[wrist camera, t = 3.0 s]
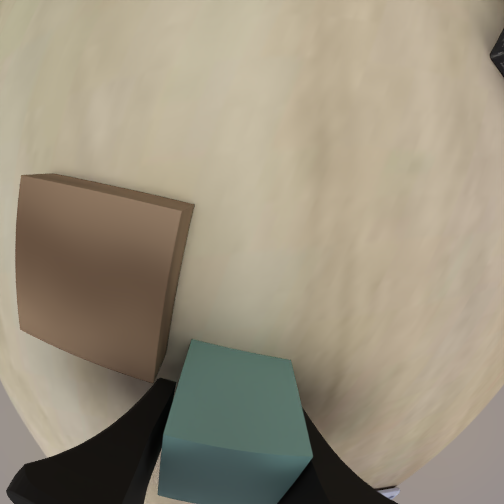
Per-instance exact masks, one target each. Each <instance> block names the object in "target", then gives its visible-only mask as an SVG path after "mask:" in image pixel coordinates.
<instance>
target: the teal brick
mask: <svg viewBox="0 0 504 504" xmlns="http://www.w3.org/2000/svg"><path fill="white" fill-rule="evenodd" d="M312 458H313V454H312V450H311V445H310V441H309V436H308V432H307V427H306V423H305V419H304V414H303V410H302V406H301V401H300V397H299V393H298V388H297V384H296V380H295V376H294V371H293V367H292V363H291V360H287V359H282V358H276V357H271V356H265V355H260V354H255V353H250V352H245V351H241V350H236V349H231V348H227V347H223V346H218V345H214V344H210V343H206V342H202V341H198V340H194V339H192V340H191V344H190V347H189V350H188V353H187V356H186V360H185V363H184V366H183V369H182V373H181V376H180V379H179V383H178V386H177V389H176V393H175V396H174V399H173V403H172V406H171V410H170V413H169V416H168V420H167V423H166V427H165V430H164V434H163V442H162V451H161V461H160V472H159V484H158V495H159V496H163V497H167V498H172V499H176V500H181V501H185V502H190V503H196V504H277V503H278V502H279V500H280V499H281V498H282V497H283V496H284V494H285V493H286V492H287V491H288V489H289V488H290V487H291V486H292V484H293V483H294V482H295V481H296V479H297V478H298V477H299V475H300V474H301V473H302V471H303V470H304V469H305V467H306V466H307V465H308V463H309V462H310V460H311V459H312Z"/></svg>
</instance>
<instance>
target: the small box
mask: <svg viewBox="0 0 504 504" xmlns="http://www.w3.org/2000/svg"><path fill="white" fill-rule="evenodd" d="M491 59H492V60H493V62H494V63H495V65H496V66H497V68H498V69H499V70H500V72H501V73H502V74H503V76H504V30H503V32H502V33H501V35H500V37H499V39H498V41H497V43H496V45H495V47H494V49H493V51H492V52H491Z"/></svg>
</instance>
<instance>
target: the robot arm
mask: <svg viewBox="0 0 504 504" xmlns="http://www.w3.org/2000/svg"><path fill="white" fill-rule="evenodd" d="M175 385H176V382H174V381H170V380H167V379H163V378H159V379H157V380H156V382H155V383H154V384H153V386H152V387H151V388H150V389H149V391H148V392H147V393H146V394H145V395H144V396H143V397H142V398H141V399H140V400H139V401H138V402H137V403H136V404H135V405H134V406H133V407H132V408H131V409H130V410H129V411H128V412H127V413H125V414H124V415H123V416H122V417H121V418H119V419H118V420H117V421H116V422H115V423H113V424H112V425H111V426H109V427H108V428H106V429H105V430H103V431H102V432H100V433H99V434H97V435H96V436H94V437H92V438H91V439H89V440H87V441H85V442H84V443H82V444H80V445H78V446H76V447H74V448H72V449H69V450H67V451H64V452H62V453H60V454H57V455H55V456H52V457H49V458H45V459H42V460H38V461H35V462H31V463H27V464H25V465H24V466H23V467H22V468H21V469H20V470H19V471H18V473H17V474H16V475H15V476H14V478H13V480H12V482H11V483H10V485H9V487H8V488H7V490H6V492H7V495H8V497H9V498H10V500H11V501H12V502H13V503H14V504H144V500H145V495H146V491H147V487H148V484H149V481H150V478H151V475H152V472H153V470H154V467H155V464H156V462H157V459H158V456H159V454H160V451H161V448H162V442H163V434H164V430H165V427H166V423H167V420H168V416H169V413H170V410H171V406H172V403H173V398H174V392H175ZM302 410H303V414H304V419H305V423H306V427H307V432H308V436H309V441H310V445H311V450H312V454H313V458H312V459H311V460H310V462H309V463H308V465H307V466H306V467H305V469H304V470H303V471H302V473H301V474H300V475H299V477H298V478H297V479H296V481H295V482H294V483H293V484H292V486H291V487H290V488H289V489H288V491H287V492H286V493H285V494H284V496H283V497H282V498H281V499H280V500H279V502H278V503H277V504H398V503H396V502H394V501H392V499H393V498H394V497H395V496H396V495H397V494H399V492H400V489H399V488H391V489H385V490H379V491H376V490H375V489H374V488H372V487H371V486H370V485H368V484H367V483H366V482H364V481H363V480H362V479H361V478H360V477H358V476H357V475H356V474H355V473H354V472H353V471H352V470H351V469H350V468H349V467H348V466H347V465H346V464H345V463H344V462H343V461H342V460H341V459H340V458H339V457H338V455H337V454H336V453H335V452H334V451H333V450H332V448H331V447H330V446H329V445H328V443H327V442H326V441H325V439H324V438H323V437H322V435H321V434H320V433H319V431H318V430H317V428H316V427H315V425H314V424H313V423H312V421H311V420H310V418H309V417H308V415H307V414H306V412H305V411H304V409H303V408H302Z"/></svg>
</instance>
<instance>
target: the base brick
mask: <svg viewBox="0 0 504 504" xmlns="http://www.w3.org/2000/svg"><path fill="white" fill-rule="evenodd" d="M193 209H194V204H190V203H186V202H181V201H177V200H173V199H169V198H164V197H160V196H156V195H151V194H147V193H143V192H138V191H134V190H129V189H125V188H120V187H116V186H111V185H106V184H102V183H97V182H92V181H87V180H83V179H78V178H73V177H68V176H63V175H58V174H34V175H21V181H20V189H19V198H18V208H17V222H16V249H15V264H16V290H17V304H18V314H19V323H20V330H22V331H24V332H26V333H28V334H30V335H32V336H34V337H36V338H38V339H40V340H42V341H44V342H46V343H48V344H50V345H53V346H55V347H57V348H59V349H61V350H64V351H66V352H68V353H71V354H73V355H75V356H78V357H80V358H83V359H85V360H87V361H90V362H93V363H95V364H98V365H100V366H103V367H106V368H108V369H111V370H114V371H117V372H120V373H122V374H125V375H128V376H131V377H134V378H138V379H141V380H144V381H147V382H150V383H154V381H155V378H156V376H157V374H158V371H159V369H160V366H161V364H162V362H163V359H164V357H165V355H166V350H167V343H168V337H169V331H170V325H171V318H172V313H173V307H174V301H175V296H176V290H177V285H178V279H179V274H180V269H181V264H182V259H183V254H184V249H185V245H186V240H187V235H188V231H189V226H190V222H191V217H192V213H193Z"/></svg>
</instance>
